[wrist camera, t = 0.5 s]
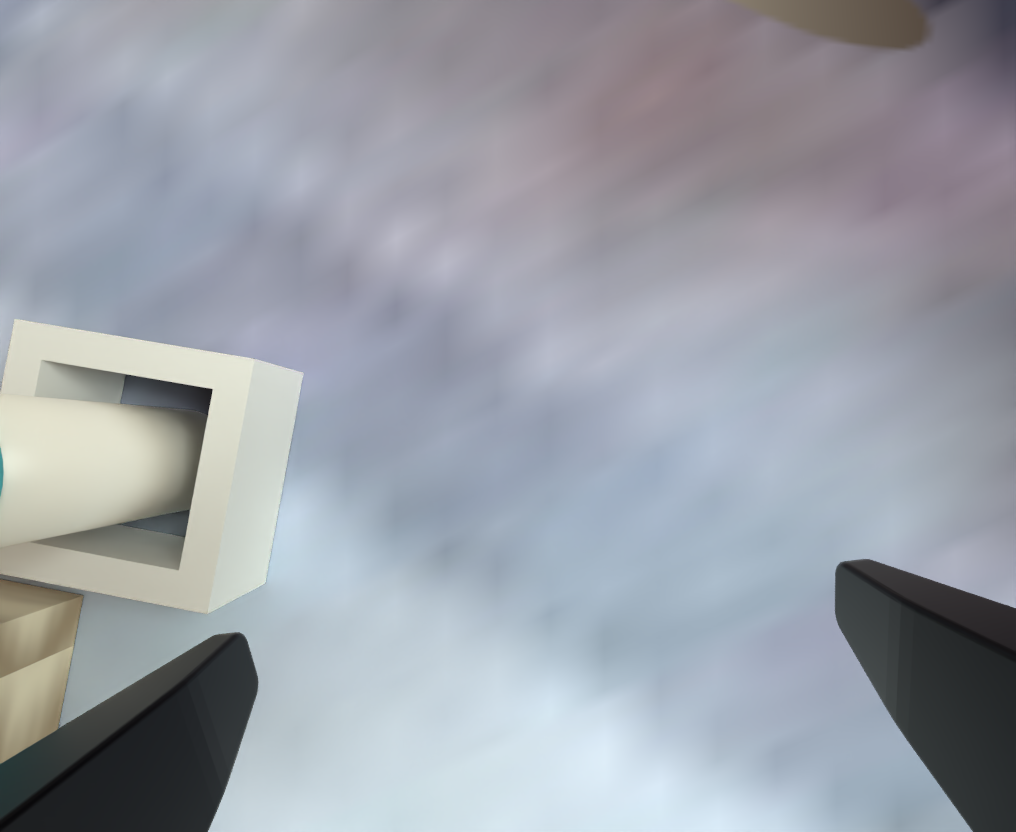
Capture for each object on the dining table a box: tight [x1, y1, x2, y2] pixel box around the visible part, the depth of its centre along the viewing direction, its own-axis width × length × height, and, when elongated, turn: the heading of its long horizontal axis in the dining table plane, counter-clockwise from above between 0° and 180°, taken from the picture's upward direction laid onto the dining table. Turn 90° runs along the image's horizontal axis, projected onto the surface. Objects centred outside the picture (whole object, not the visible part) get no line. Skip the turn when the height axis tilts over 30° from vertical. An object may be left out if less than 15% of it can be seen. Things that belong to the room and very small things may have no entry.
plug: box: [0, 394, 208, 548], centre depth 17 cm, size 4×4×13 cm
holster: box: [0, 319, 304, 614], centre depth 21 cm, size 8×8×4 cm
